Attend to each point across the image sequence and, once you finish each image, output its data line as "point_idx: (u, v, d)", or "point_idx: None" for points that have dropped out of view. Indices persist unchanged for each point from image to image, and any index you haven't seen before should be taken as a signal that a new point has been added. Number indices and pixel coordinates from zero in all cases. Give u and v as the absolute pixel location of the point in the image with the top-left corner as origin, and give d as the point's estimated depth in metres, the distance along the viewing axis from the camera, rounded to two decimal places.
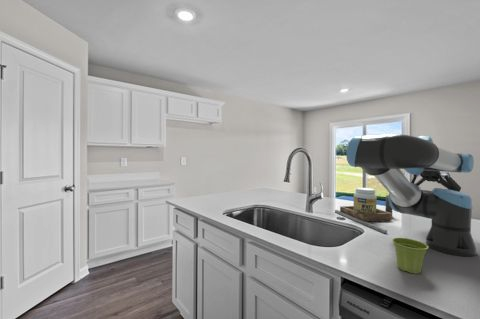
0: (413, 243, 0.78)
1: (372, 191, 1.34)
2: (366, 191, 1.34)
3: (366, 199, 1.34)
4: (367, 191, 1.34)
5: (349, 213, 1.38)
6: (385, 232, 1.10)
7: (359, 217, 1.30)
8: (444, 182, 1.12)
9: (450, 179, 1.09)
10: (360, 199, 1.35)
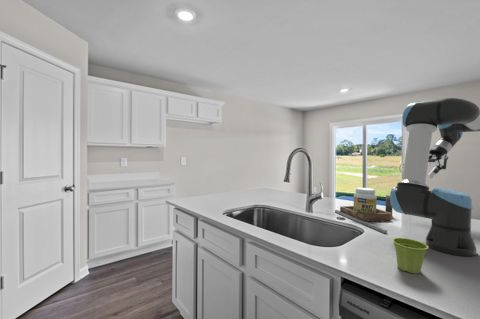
0: (413, 243, 0.78)
1: (372, 191, 1.34)
2: (366, 191, 1.34)
3: (366, 199, 1.34)
4: (367, 191, 1.34)
5: (349, 213, 1.38)
6: (385, 232, 1.10)
7: (359, 217, 1.30)
8: (438, 161, 1.31)
9: (445, 159, 1.29)
10: (360, 199, 1.35)
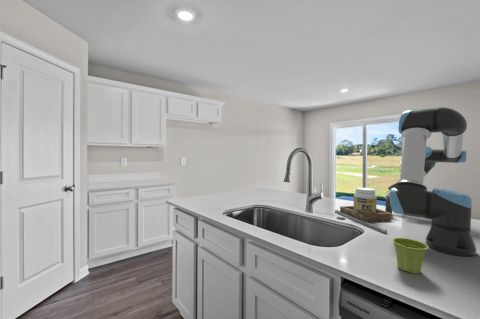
0: (413, 243, 0.78)
1: (372, 191, 1.34)
2: (366, 191, 1.34)
3: (366, 199, 1.34)
4: (367, 191, 1.34)
5: (349, 213, 1.38)
6: (385, 232, 1.10)
7: (359, 217, 1.30)
8: None
9: None
10: (360, 199, 1.35)
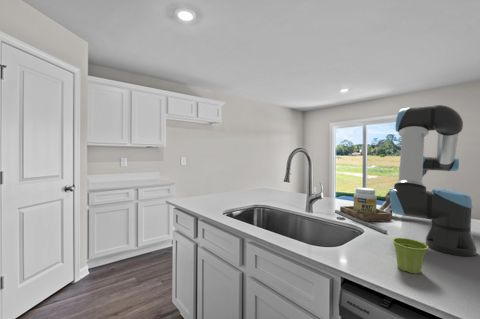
0: (413, 243, 0.78)
1: (372, 191, 1.34)
2: (366, 191, 1.34)
3: (366, 199, 1.34)
4: (367, 191, 1.34)
5: (349, 213, 1.38)
6: (385, 232, 1.10)
7: (359, 217, 1.30)
8: None
9: None
10: (360, 199, 1.35)
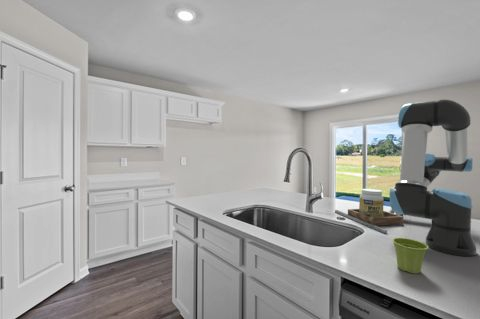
0: (413, 243, 0.78)
1: (379, 192, 1.29)
2: (373, 192, 1.29)
3: (373, 201, 1.29)
4: (374, 192, 1.29)
5: (358, 216, 1.31)
6: (385, 232, 1.10)
7: (369, 220, 1.23)
8: None
9: None
10: (366, 200, 1.30)
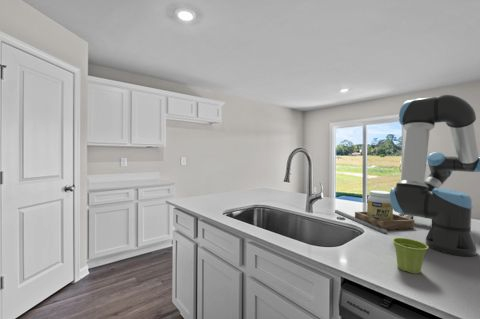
0: (413, 243, 0.78)
1: (388, 195, 1.23)
2: (382, 194, 1.23)
3: (382, 203, 1.22)
4: (383, 195, 1.23)
5: (366, 220, 1.24)
6: (385, 232, 1.10)
7: (378, 224, 1.16)
8: None
9: None
10: (375, 203, 1.24)
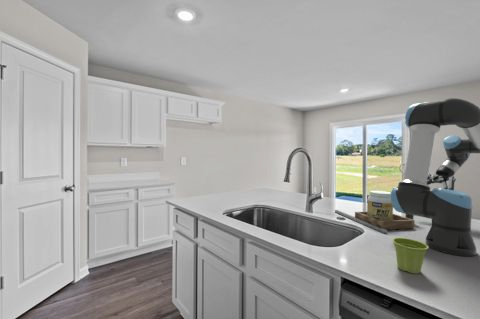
0: (413, 243, 0.78)
1: (388, 195, 1.23)
2: (382, 195, 1.23)
3: (382, 203, 1.22)
4: (383, 195, 1.23)
5: (366, 220, 1.24)
6: (385, 232, 1.10)
7: (378, 224, 1.16)
8: (445, 183, 1.27)
9: (452, 181, 1.25)
10: (375, 203, 1.24)
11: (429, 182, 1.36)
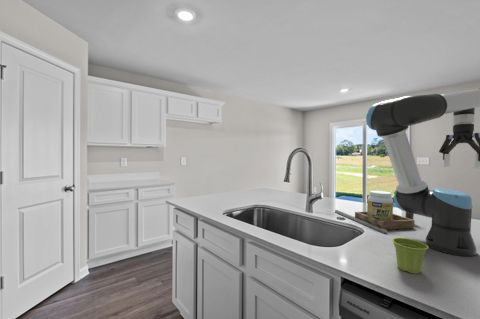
0: (413, 243, 0.78)
1: (388, 195, 1.23)
2: (382, 195, 1.23)
3: (382, 203, 1.22)
4: (383, 195, 1.23)
5: (366, 220, 1.24)
6: (385, 232, 1.10)
7: (378, 224, 1.16)
8: (473, 143, 1.09)
9: None
10: (375, 203, 1.24)
11: (454, 145, 1.18)
